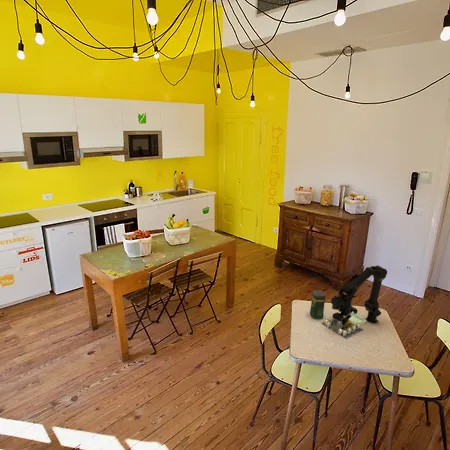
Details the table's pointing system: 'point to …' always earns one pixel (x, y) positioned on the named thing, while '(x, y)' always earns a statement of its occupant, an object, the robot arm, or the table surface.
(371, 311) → the robot arm
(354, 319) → the tray
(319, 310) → the coffee jar
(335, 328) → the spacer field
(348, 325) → the gear
